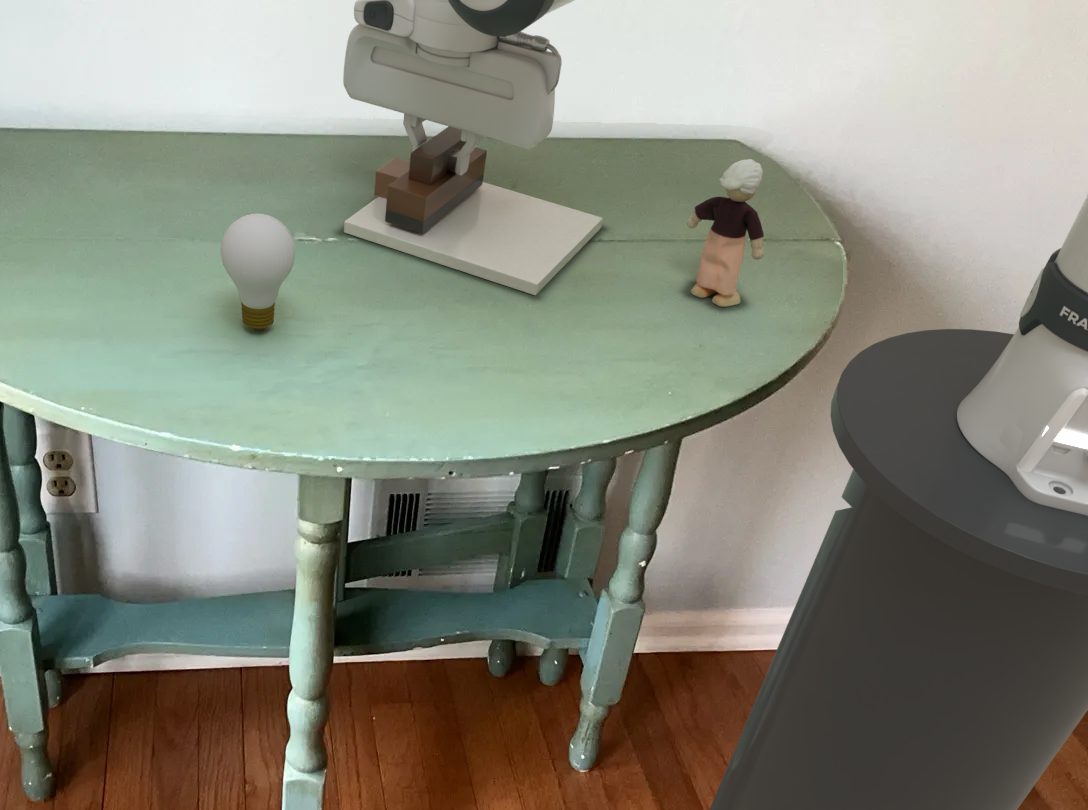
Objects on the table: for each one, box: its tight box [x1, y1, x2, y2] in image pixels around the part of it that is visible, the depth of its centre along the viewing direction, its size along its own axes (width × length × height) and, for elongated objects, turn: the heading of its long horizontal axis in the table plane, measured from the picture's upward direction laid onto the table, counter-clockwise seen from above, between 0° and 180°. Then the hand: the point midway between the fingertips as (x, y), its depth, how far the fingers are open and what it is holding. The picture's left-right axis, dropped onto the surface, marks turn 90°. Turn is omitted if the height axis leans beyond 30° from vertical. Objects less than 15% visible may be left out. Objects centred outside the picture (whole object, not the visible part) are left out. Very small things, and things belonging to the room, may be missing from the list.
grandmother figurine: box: [685, 158, 765, 308], centre depth 104 cm, size 8×4×13 cm, turn 57°
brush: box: [385, 126, 488, 233], centre depth 113 cm, size 13×4×6 cm, turn 150°
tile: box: [343, 181, 604, 296], centre depth 115 cm, size 20×16×1 cm
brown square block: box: [373, 157, 410, 199], centre depth 117 cm, size 4×4×2 cm
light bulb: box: [220, 213, 296, 332], centre depth 96 cm, size 6×6×10 cm
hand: (439, 166), depth 113 cm, fingers closed on brush, 2 cm apart
